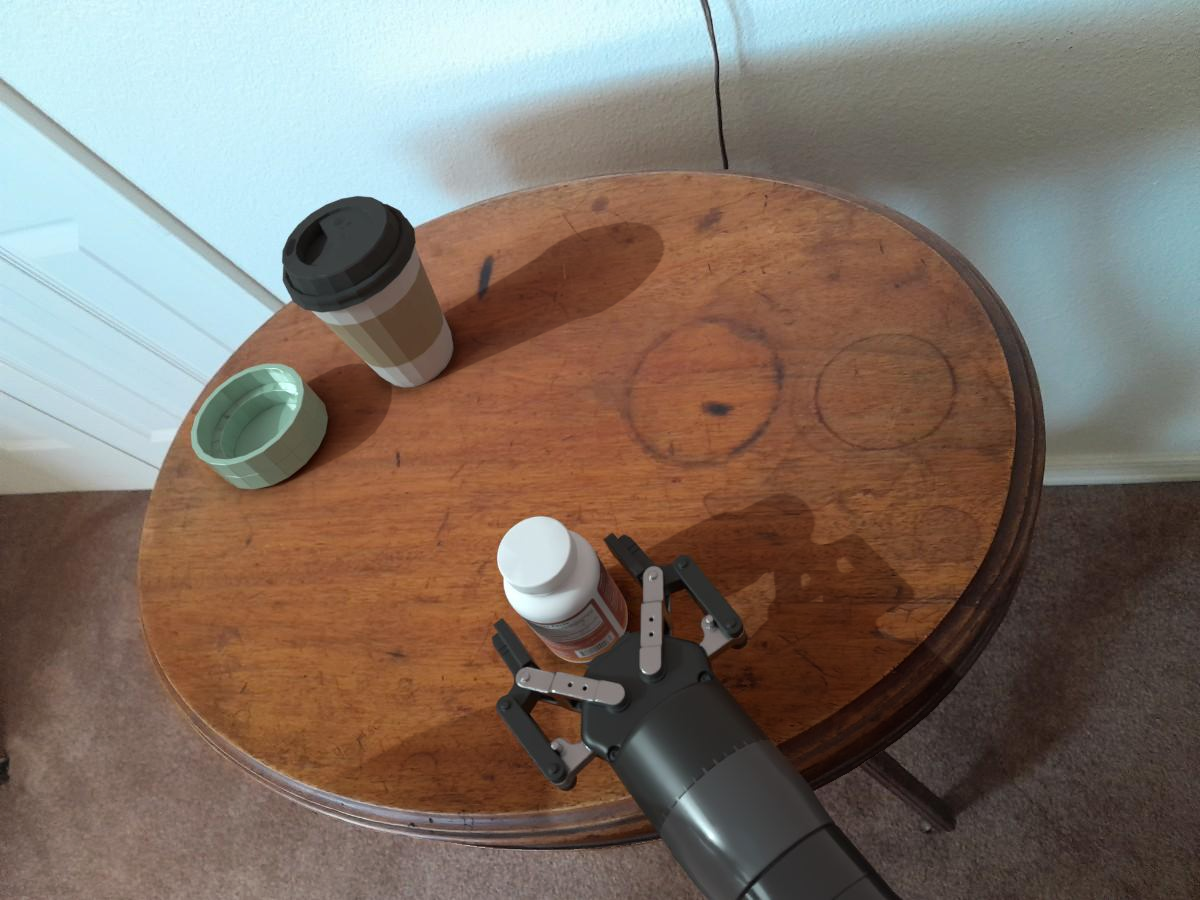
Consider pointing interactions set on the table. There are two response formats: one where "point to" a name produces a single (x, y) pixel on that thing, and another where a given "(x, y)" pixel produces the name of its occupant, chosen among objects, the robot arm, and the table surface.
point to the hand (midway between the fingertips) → (556, 583)
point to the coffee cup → (369, 287)
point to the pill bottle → (561, 589)
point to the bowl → (259, 426)
